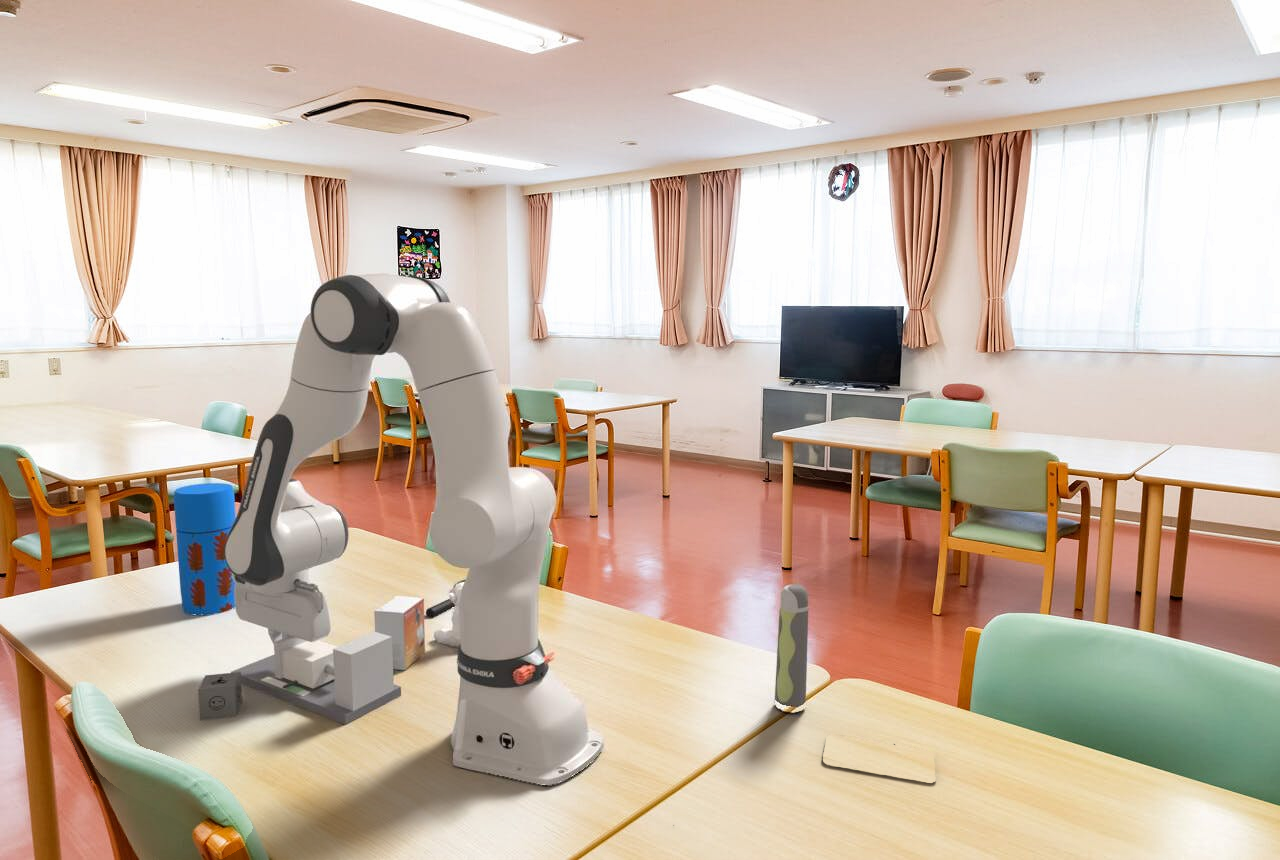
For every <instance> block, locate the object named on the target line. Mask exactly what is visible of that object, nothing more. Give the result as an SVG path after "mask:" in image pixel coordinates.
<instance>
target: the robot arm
mask: <svg viewBox="0 0 1280 860" xmlns="http://www.w3.org/2000/svg"><path fill="white" fill-rule="evenodd" d="M482 335H483V334H481V332H480V330H479V328H478V326H477V323H476V322H475V320H474V318H473V317H472V315H471V312H469V310H467V308H465V307H464V306H462V305H460V304H458V303H454V302H451V300H450V298H449V296H448V294H447V293H446V291H445V290H444V289H443V288H442V287H441V286H440V285H439V284H437V283H436V282H434V281H433V280H431V279H428V278H424V277H421V276H418V275H417V276H416V275H408V276H406V275H405V276H404V275H397V274H389V273H383V272H382V273H368V274H360V275H352V274H347V275H346V274H345V275H341V276H339V277H334V278H333V279H329V280H328V281H325V282H323V283H322V284H321V286H319V287H318V288H317V289H316V291H315V293H314V295H313V297H312V301H311V304H310V313H308V314H307V315H306V317H305V318H304V320H303V322H302V325H301V328H300V332H299V334H298V339H297V343H296V345H295V350H294V355H293V359H292V363H291V370H290V371H291V373H290V380H289V385H288V389H287V391H286V394H285V396H284V398H283V401H282V403H281V404H280V406H279V407H278V409H277V411H276V412H275V413H274V415H272V417H270V419H269V420H267V421H266V423H264V425H263V427H262V429H261V430H260V434H259V437H258V439H257V443H256V446H255V450H254V453H253V456H252V460H251V464H250V468H249V471H248V475H247V478H246V479H247V480H246V483H245V486H244V489H243V493H242V497H241V500H240V504H239V508H238V511H237V514H236V519H235V521H234V523H233V525H232V527H231V529H230V531H229V533H228V536H227V539H226V542H225V548H224V555H225V560H226V564H227V566H228V568H229V570H230V571H231V572H232V579H233V581H234V582H236V584H235V586H234V599H235V608H234V609H235V613H236V615H237V617H238V618H239V620H241V621H244V622H247V623H250V624H253V625H257V626H259V627H262V628H266V629H267V633H268V636H269V637H270V640H271V642H272V645H274V642H276V641H278V640H281V639H283V638H286V637H289V636H293V637H296V638H299V639H302V640H305V641H309V642H315V641H317V640H318V641H321V640H322V639H324V638H326V637H328V635H330V632H331V619H330V614H329V613H330V612H329V607H328V602H327V599H326V596H325V595H324V593H323V591H322V590H320V589H319V586H318V585H317V584H315V583H312V582H311V583H309V582H310V578H309V577H310V575H309V574H310V573H309V572H310V571H309V569H312V568H314V567H317V566H321V565H324V564H326V563H330V562H332V561H334V560H336V559H339V558H340V557H341V556H342V555H343V554H344V552H345V551H346V548H347V546H348V543H349V533H350V532H349V526H348V522H347V519H346V517H345V515H344V514H343V513H342V512H341V511H340V510H339V509H338V508H337V507H335V506H333V505H331V504H326V503H323V502H321V501H320V500H317V499H316V498H314V497H313V496H311V494H309V493H308V492H307V491H306V490H305V488H304V486H303V484H302V482H301V481H300V480H298V479H295V478H291V477H292V475H293V473H294V471H295V470H296V469H297V468H298V466H299V465H300V464H301V463H302V462H303V461H304V460H306V459H307V458H309V457H310V456H312V455H313V454H314V453H316V452H317V451H319V450H320V449H322V448H324V447H326V446H327V445H330V444H331V443H333V442H335V441H338V440H339V439H340V440H341V439H342V438H343V437H345V436H346V435H348V434H349V433H350V432H352V431H353V430H354V429H356V428H357V426H358V425H359V423H360V422H361V419H362V418H363V415H364V412H365V410H366V406H367V402H368V394H369V388H370V387H369V386H370V379H371V369H372V364H373V360H374V358H375V357H376V356H384V355H385V354H386V353H387V354H389V353H390V354H391V353H396V354H398V355H400V357H402V358H403V359H404V360H405V362H406V363H407V365H408V367H409V370H410V372H411V375H412V379H413V382H414V386H415V391H416V392H417V396H418V399H419V402H420V405H421V408H422V411H423V416H424V419H425V422H426V427H427V429H428V432H429V436H430V439H431V444H432V449H433V454H434V465H435V466H434V467H435V483H436V484H435V485H436V486H435V488H436V489H435V490H436V491H435V492H436V493H435V505H434V509H433V512H432V513H431V517H430V521H429V526H428V531H429V538H430V542H431V545H432V547H433V548H434V550H435V552H436V554H437V555H438V556H439V557H440V558H441V559H442V560H443V561H445V563H447V564H448V565H451V566H452V567H456V568H460V569H468V571H467V574H466V577H465V579H466V580H465V579H464V580H465V582H464V584H463V586H462V589H461V593H460V644H459V646H458V648H457V658H456V664H457V673H458V675H459V677H460V679H459V691H458V700H457V701H458V702H457V710H456V715H455V716H456V717H455V721H454V726H453V729H452V732H451V736H450V745H451V747H452V749H453V753H452V764H453V766H455V767H458V768H463V769H467V770H470V771H476V772H481V773H484V772H485V774H488V773H491V774H490V775H493V774H494V775H493V776H497V775H499V776H498V777H502V776H505V777H504V778H506V777H509V778H508V779H511V778H515V779H518V780H517V781H520V780H523V781H522V782H524V781H528V782H527V783H529V782H533V783H539V784H545V785H550V786H552V785H551V784H554V785H556V784H555V783H558V782H560V781H563V780H566V779H567V778H569V777H571V776H572V775H574V774H576V773H577V772H579V771H581V770H582V769H583V768H585V767H586V766H587V765H588V764H590V762H592V761H593V760H594V759H595V758H596V757H597V755H598V754H599V753H600V752H601V753H602V751H603V749H602V748H604V745H603V741H604V736H603V734H601V733H599V732H597V731H595V729H592V728H590V727H588V720H587V714H586V710H585V707H584V705H583V703H582V702H581V701H580V699H578V698H577V697H576V696H575V695H574V693H573V692H572V690H570V689H569V688H567V687H566V686H565V685H564V683H562V682H561V680H559V678H557V677H556V676H555V674H554V673H553V672H552V671H551V670H550V669H549V668H550V667H549V663H550V662H552V661H554V659H555V658H554V657H553V656H554V654H555V652H554V651H553V652H550V653H549V654H546V655H545V651H544V648H543V646H542V643H541V641H540V639H539V590H540V582H541V581H540V580H541V577H542V576H541V575H542V569H543V565H544V564H543V563H544V558H545V552H546V546H547V540H548V533H549V527H550V523H551V520H552V518H553V514H554V512H555V509H556V506H557V505H556V504H557V495H556V490H555V487H554V485H553V483H552V482H551V480H550V478H548V476H546V474H544V473H543V472H542V471H540V470H537V469H536V468H532V467H525V466H514V467H513V466H512V467H511V466H510V461H509V460H510V459H509V436H510V432H511V429H512V428H511V427H512V425H511V417H510V415H509V412H508V409H507V404H506V401H505V399H504V395H503V392H502V389H501V386H500V383H499V379H498V376H497V372H496V369H495V367H494V363H493V361H492V360H493V359H492V358H491V355H490V353H489V349H488V348H487V345H486V343H485V340H484V338H483V336H482ZM601 750H602V751H601ZM601 753H600V754H601ZM600 754H599V755H600ZM597 758H598V757H597ZM597 758H596V759H597ZM596 759H595V760H596ZM595 760H594V761H595ZM594 761H593V762H594ZM593 762H592V763H593ZM590 765H591V764H590ZM586 768H587V767H586ZM586 768H585V769H586ZM581 772H582V771H581ZM515 779H514V780H515ZM566 781H567V780H566ZM563 782H564V781H563ZM533 783H532V784H533ZM558 784H559V783H558Z"/></svg>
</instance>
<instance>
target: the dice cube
mask: <svg viewBox="0 0 1280 860" xmlns="http://www.w3.org/2000/svg"><path fill="white" fill-rule="evenodd" d="M242 688H243V686H242V684H241V672H235V673H231V672H226V673H215V674H207V675H206V674H205V676H204V678H203V680H202V681H201V682H200V685H199V686H198V689H197V699H198V700H197V701H198V713H199V721H207V720H215V719H216V720H217V719H224V718H231V717H234V718H235V717H237V715H238V713H239V711H240V708H241V707H242V706H241V705H242V704H243V689H242Z"/></svg>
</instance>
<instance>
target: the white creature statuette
mask: <svg viewBox="0 0 1280 860" xmlns="http://www.w3.org/2000/svg"><path fill="white" fill-rule="evenodd" d="M455 584H456V583H455ZM455 584H454V585H455ZM463 584H464V582H462V583H459V584H456V585H455V587H454V586H453V587H454V588H452V589H451V590H450V592H449V593H448V595H449V599H450V600H451V601H452V602H453V603H454V605H456V606H454V608H453V611H452V614H451V623H452V627H451V629H452V630H451V629H450V628H448V627H447V628H444V627H440V628H439V629H437V630H435V631H434V632H433V638H434V640H435V641H436V642H437V643H438V644H443V645H446V646H450V647H454V648H457V649H458V646H459V644H460V593H461V589H462V586H463Z"/></svg>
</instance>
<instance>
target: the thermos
mask: <svg viewBox="0 0 1280 860" xmlns="http://www.w3.org/2000/svg"><path fill="white" fill-rule="evenodd" d="M233 487H234V486H233V485H232V484H229V483H221V482H211V483H196V484H190V485H189V484H188V485H186V486H181V487H178V488H176V489H175V490H174V492H173V504H174V505H173V506H174V507H173V509H174V519H175V534H176V535H175V536H176V547H177V548H176V549H177V560H178V562H177V563H178V573H179V576H178V578H179V588H180V596H181V597H180V599H181V604H182V611H183V610H184V611H183V613H184V612H185V613H184V614H187V613H188V614H187V615H189V614H196V615H195V616H208V615H207V614H211V615H215V614H214V613H218V614H221V613H220V612H222V613H225V612H224V611H226V612H228V611H231V610H233V609H235V608H234V607H235V599H234V586H235V584H236V582H234V581H233V579H232V572H231V571H230V570H229V568H228V566H227V564H226V560H225V555H224V548H225V542H226V539H227V536H228V533H229V531H230V529H231V527H232V525H233V523H234V521H235V519H236V516H237V514H236V503H235V502H236V501H235V492H234V488H233ZM232 608H233V609H232ZM230 609H231V610H230ZM227 610H228V611H227ZM201 614H203V615H201Z"/></svg>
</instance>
